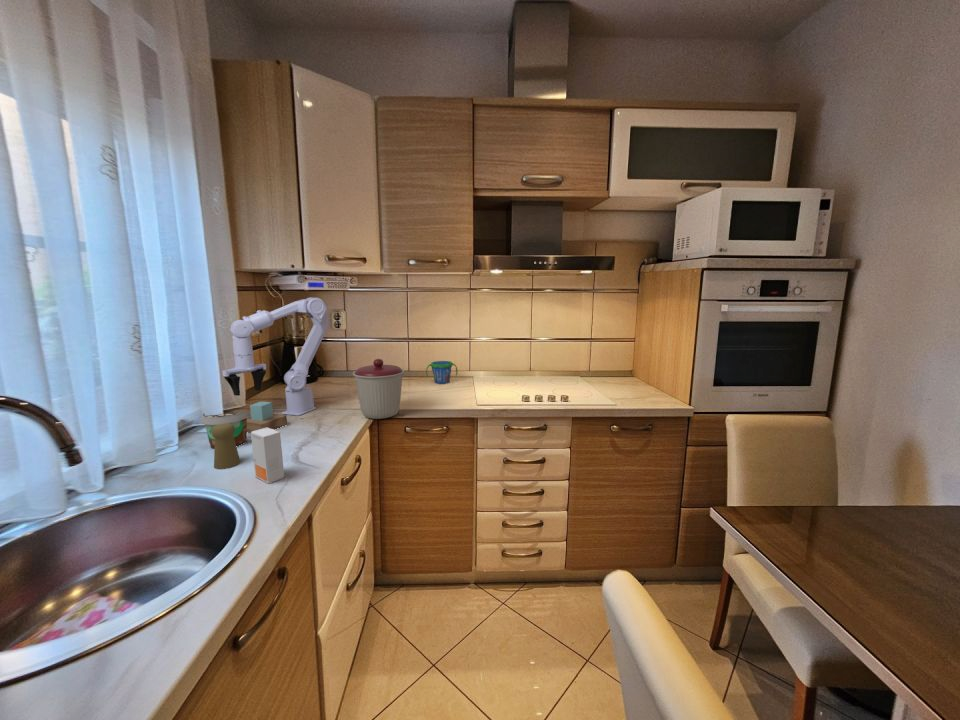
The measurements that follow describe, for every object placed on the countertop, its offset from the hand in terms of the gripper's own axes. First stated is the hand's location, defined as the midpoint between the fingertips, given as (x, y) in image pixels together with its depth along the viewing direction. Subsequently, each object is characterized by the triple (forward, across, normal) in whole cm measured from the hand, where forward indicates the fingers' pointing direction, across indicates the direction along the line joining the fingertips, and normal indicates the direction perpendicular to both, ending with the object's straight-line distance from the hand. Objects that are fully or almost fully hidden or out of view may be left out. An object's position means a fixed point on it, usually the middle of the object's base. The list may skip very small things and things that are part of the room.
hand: (247, 392), depth 140 cm
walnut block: (+10, -4, -13) cm, 17 cm away
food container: (+10, -19, -17) cm, 28 cm away
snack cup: (+10, +79, -31) cm, 86 cm away
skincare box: (+10, -27, -47) cm, 55 cm away
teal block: (+6, -4, -13) cm, 15 cm away
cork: (+10, -26, -30) cm, 41 cm away
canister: (+10, +25, -38) cm, 47 cm away
